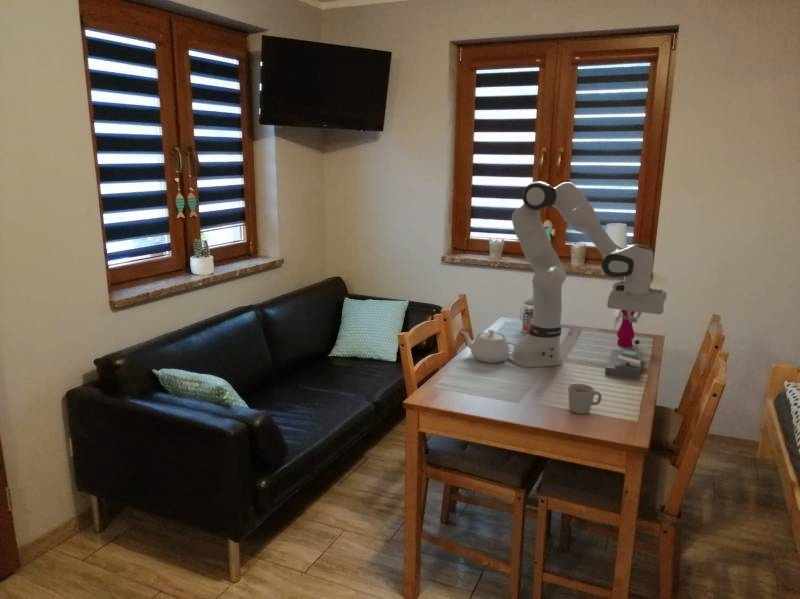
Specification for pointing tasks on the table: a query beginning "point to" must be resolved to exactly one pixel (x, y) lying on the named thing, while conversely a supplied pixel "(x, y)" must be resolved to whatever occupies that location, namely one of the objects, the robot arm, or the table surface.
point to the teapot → (490, 347)
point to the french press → (527, 312)
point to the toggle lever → (635, 344)
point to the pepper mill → (625, 330)
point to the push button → (630, 353)
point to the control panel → (623, 366)
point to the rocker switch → (628, 360)
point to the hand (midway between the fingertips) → (633, 322)
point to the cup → (582, 398)
